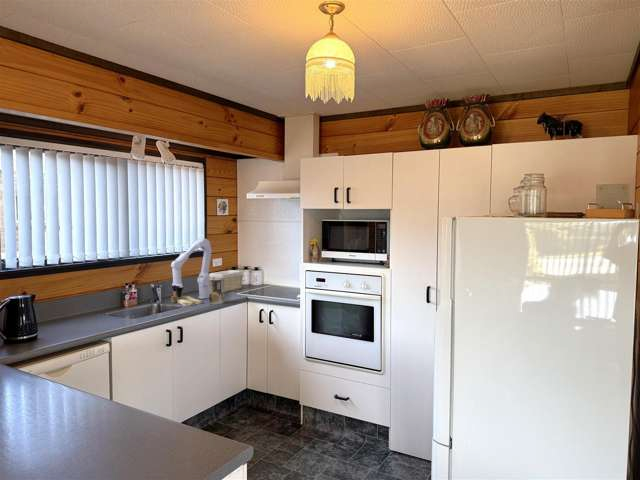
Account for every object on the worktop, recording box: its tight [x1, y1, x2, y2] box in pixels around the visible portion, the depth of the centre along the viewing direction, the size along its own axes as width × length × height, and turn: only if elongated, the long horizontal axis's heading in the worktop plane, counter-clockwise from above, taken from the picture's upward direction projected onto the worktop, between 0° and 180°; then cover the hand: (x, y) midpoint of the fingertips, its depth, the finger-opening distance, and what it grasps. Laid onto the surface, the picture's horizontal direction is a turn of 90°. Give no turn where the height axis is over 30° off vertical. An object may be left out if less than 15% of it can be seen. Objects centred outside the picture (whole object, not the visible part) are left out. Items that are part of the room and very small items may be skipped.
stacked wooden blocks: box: [170, 290, 188, 304], centre depth 321 cm, size 10×5×7 cm, turn 128°
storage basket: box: [208, 269, 244, 293], centre depth 363 cm, size 24×16×15 cm
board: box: [176, 295, 204, 307], centre depth 317 cm, size 12×24×2 cm, turn 38°
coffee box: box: [208, 280, 226, 305], centre depth 311 cm, size 9×6×16 cm
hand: (178, 296), depth 320 cm, fingers closed on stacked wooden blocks, 4 cm apart
